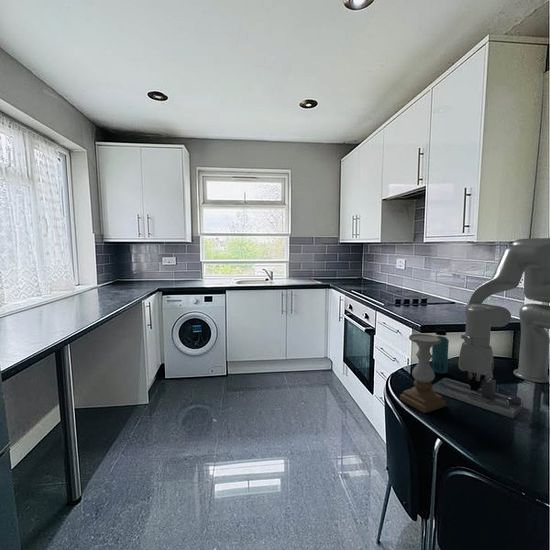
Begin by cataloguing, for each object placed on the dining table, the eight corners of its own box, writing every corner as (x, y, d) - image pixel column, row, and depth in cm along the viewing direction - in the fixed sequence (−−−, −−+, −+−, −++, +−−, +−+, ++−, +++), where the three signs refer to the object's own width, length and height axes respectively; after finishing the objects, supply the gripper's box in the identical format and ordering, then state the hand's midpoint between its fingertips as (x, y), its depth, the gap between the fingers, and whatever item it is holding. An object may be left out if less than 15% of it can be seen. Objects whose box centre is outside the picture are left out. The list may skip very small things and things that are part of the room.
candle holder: (424, 413, 104) (427, 344, 102) (399, 399, 114) (401, 335, 112) (446, 406, 109) (449, 339, 107) (420, 393, 119) (422, 332, 117)
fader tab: (485, 393, 114) (486, 377, 113) (494, 396, 112) (495, 380, 111) (481, 397, 111) (482, 380, 111) (491, 400, 109) (492, 383, 108)
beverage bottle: (443, 371, 140) (445, 327, 138) (450, 377, 133) (452, 331, 131) (428, 370, 140) (430, 327, 139) (434, 376, 134) (436, 331, 132)
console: (444, 382, 129) (444, 373, 128) (523, 406, 109) (523, 397, 108) (431, 390, 121) (431, 382, 121) (513, 418, 101) (514, 408, 101)
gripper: (450, 338, 116) (448, 385, 118) (498, 348, 105) (495, 400, 107) (458, 334, 121) (456, 380, 123) (505, 343, 110) (501, 393, 111)
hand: (474, 389), depth 115 cm, fingers closed
